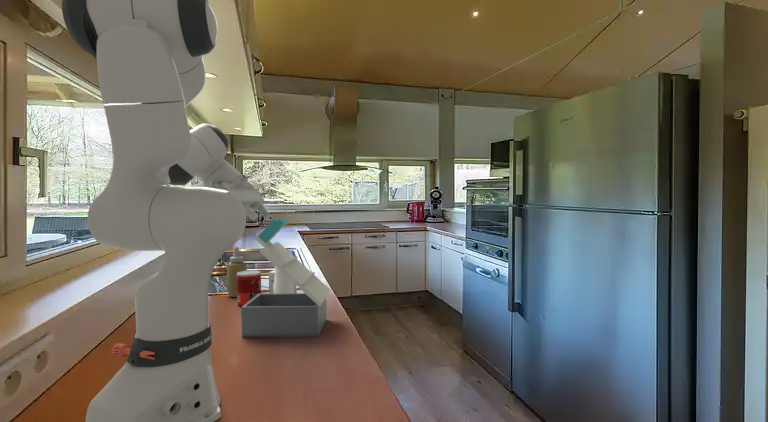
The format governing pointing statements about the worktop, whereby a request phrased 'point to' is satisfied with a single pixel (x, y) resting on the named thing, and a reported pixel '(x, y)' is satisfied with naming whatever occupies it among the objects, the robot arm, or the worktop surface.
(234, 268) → the squeeze bottle
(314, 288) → the lid
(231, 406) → the worktop surface
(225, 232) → the robot arm
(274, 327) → the tub
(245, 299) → the canned food
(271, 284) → the small box
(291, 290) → the pepper shaker
